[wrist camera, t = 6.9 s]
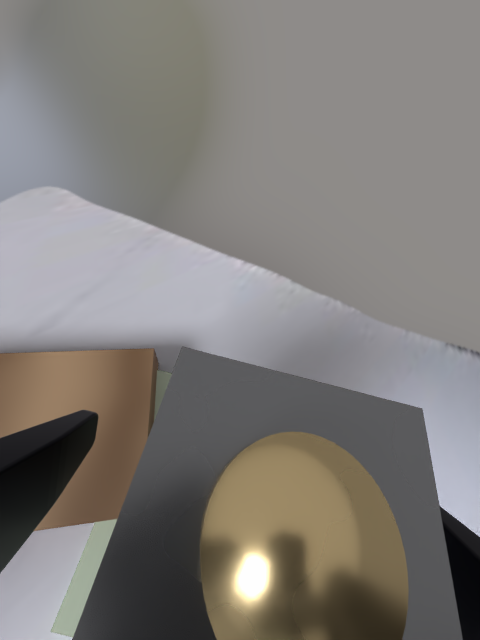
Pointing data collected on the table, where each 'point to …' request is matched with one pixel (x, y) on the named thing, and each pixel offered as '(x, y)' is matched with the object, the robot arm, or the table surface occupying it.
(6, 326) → the table surface
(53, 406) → the brown wooden flat block
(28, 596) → the table surface
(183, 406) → the grey knobbed post
